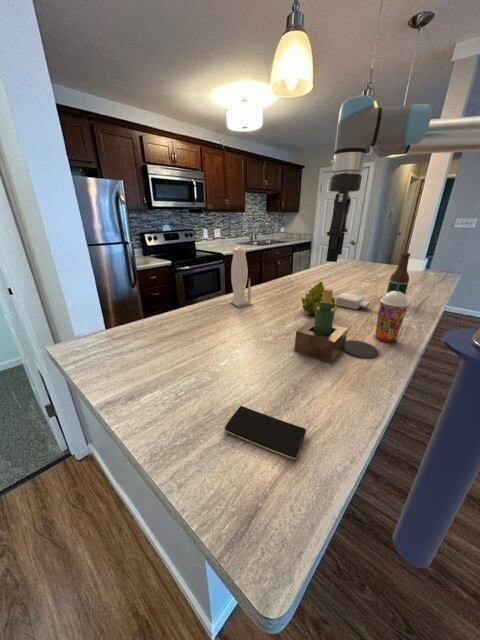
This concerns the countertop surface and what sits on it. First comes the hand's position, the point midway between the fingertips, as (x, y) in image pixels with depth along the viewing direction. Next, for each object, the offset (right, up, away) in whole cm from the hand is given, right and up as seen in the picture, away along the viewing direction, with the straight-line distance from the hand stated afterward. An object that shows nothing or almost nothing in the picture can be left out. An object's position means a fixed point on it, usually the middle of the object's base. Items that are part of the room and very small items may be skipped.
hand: (334, 257), depth 76 cm
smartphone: (-22, -41, -23) cm, 52 cm away
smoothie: (+24, -25, +16) cm, 38 cm away
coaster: (+11, -28, +9) cm, 31 cm away
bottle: (-2, -27, +9) cm, 29 cm away
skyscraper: (-27, -11, +48) cm, 57 cm away
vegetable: (+6, -15, +39) cm, 42 cm away
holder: (-2, -27, +9) cm, 29 cm away
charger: (+26, -12, +46) cm, 54 cm away
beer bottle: (+48, -10, +52) cm, 71 cm away
